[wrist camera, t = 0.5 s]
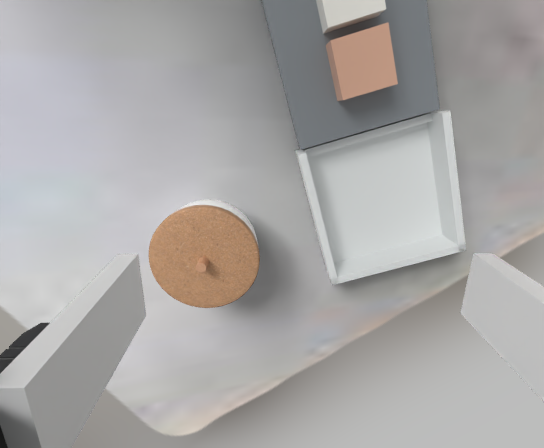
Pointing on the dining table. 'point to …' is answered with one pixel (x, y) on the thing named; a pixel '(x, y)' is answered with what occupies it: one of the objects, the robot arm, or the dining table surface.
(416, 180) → the tray
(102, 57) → the dining table surface
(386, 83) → the tile
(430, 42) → the board
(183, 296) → the lidded jar
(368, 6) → the tile
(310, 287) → the dining table surface
